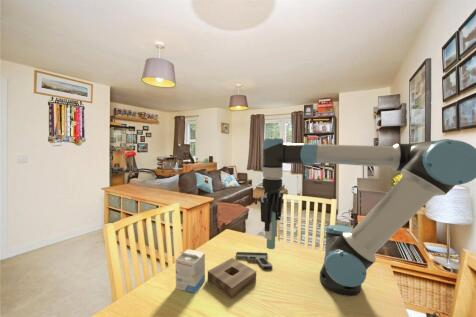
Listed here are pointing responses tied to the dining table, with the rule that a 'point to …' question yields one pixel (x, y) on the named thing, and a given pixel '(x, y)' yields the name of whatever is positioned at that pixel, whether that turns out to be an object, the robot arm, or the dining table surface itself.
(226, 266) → the socket block
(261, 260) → the handgun
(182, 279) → the ink box
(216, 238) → the dining table surface
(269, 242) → the peg
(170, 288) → the dining table surface
